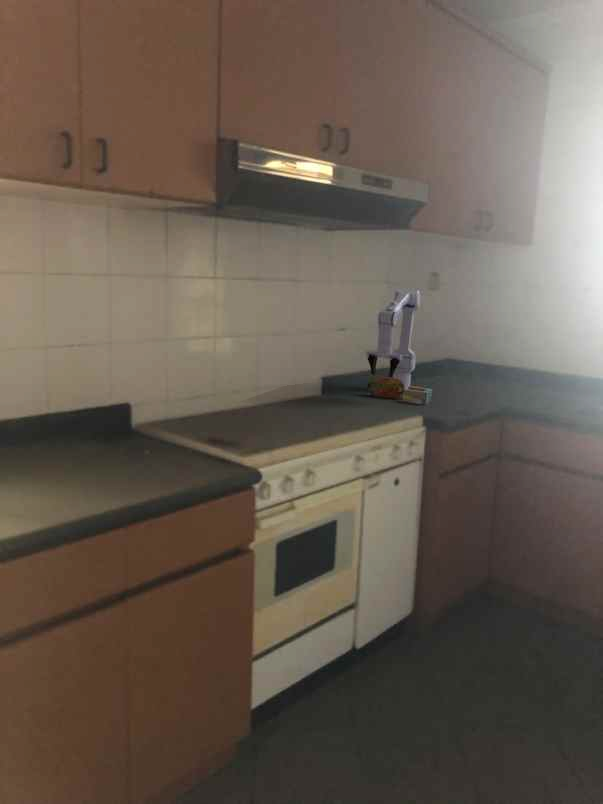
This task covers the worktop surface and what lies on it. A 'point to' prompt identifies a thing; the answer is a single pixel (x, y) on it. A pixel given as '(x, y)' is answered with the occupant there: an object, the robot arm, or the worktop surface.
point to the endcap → (417, 395)
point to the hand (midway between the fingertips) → (382, 375)
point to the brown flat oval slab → (386, 387)
